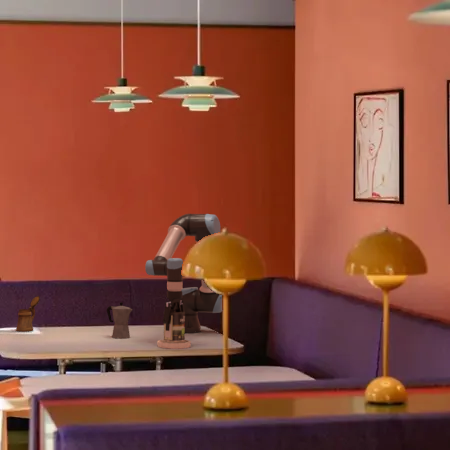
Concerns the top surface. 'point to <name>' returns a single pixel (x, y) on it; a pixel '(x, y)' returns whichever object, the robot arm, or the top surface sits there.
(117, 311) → the coffeepot
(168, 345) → the round dish
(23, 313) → the brown tapered pot
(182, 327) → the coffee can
